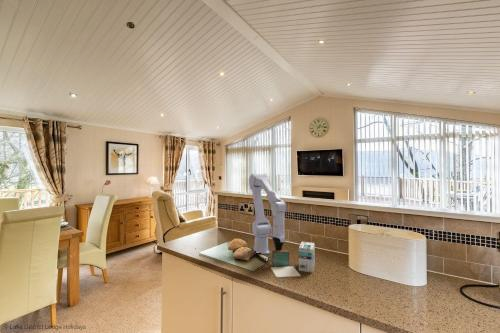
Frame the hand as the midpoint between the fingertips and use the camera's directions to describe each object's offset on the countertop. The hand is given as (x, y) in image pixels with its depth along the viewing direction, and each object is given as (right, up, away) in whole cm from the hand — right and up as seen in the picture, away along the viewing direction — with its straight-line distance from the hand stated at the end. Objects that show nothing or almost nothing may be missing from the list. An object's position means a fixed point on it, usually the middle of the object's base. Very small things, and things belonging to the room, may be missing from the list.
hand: (278, 252), depth 121 cm
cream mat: (+2, -5, -11) cm, 12 cm away
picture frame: (+1, -5, -4) cm, 6 cm away
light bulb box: (+13, -6, -6) cm, 15 cm away
